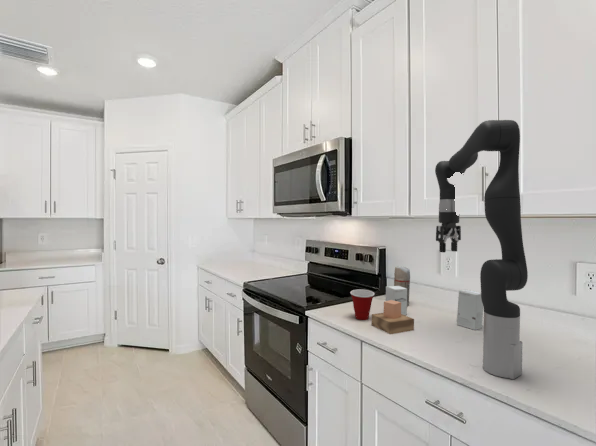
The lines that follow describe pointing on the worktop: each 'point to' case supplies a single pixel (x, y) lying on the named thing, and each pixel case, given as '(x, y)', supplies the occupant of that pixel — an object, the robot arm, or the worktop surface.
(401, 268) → the spray can
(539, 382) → the worktop surface
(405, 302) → the supplement box
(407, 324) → the walnut box
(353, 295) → the plastic cup
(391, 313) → the terracotta block
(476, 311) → the skincare box
